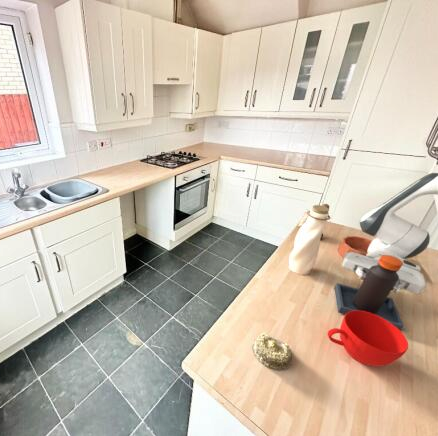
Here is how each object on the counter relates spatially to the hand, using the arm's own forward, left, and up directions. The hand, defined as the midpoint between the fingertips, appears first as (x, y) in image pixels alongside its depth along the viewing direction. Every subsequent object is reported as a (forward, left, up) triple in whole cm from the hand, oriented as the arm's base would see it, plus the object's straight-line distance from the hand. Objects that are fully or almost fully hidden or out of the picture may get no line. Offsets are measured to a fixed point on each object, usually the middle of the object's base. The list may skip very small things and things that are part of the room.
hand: (378, 283), depth 76 cm
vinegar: (0, -1, -11) cm, 11 cm away
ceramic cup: (+6, +20, -12) cm, 24 cm away
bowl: (-3, -35, -12) cm, 37 cm away
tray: (0, -1, -12) cm, 12 cm away
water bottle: (+20, -14, -12) cm, 27 cm away
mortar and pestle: (+13, -44, -12) cm, 47 cm away
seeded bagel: (+26, +31, -12) cm, 42 cm away
